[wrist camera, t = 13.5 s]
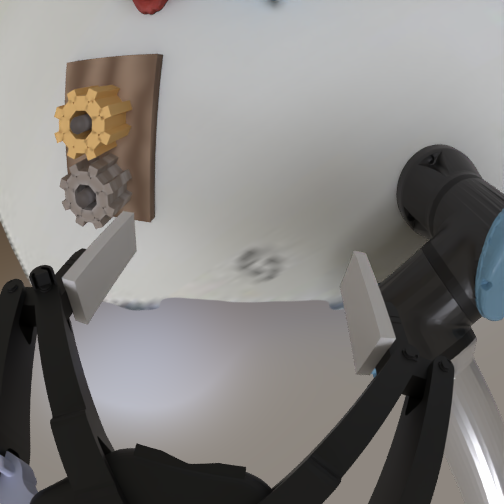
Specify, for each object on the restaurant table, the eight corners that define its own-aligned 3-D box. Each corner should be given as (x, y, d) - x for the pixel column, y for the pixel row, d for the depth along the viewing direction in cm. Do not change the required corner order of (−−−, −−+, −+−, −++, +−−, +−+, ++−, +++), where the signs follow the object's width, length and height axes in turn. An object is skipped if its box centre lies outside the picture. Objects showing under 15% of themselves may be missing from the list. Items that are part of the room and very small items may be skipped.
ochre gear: (134, 84, 33) (112, 87, 28) (130, 150, 39) (110, 162, 34) (79, 86, 33) (54, 91, 28) (78, 146, 39) (55, 158, 34)
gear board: (162, 54, 33) (134, 51, 25) (154, 216, 47) (132, 245, 40) (74, 62, 33) (37, 65, 25) (78, 205, 47) (49, 229, 39)
